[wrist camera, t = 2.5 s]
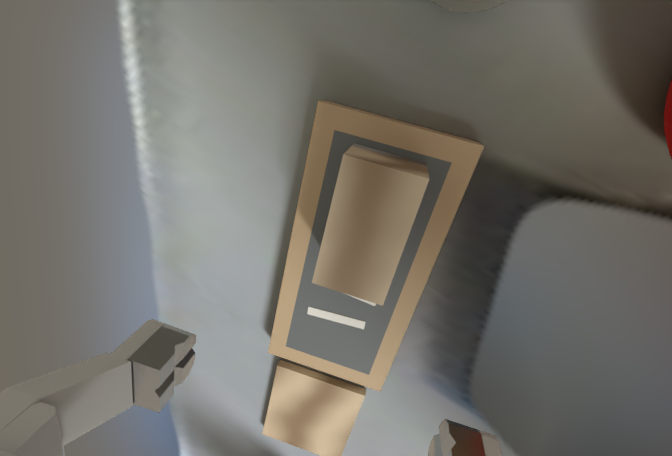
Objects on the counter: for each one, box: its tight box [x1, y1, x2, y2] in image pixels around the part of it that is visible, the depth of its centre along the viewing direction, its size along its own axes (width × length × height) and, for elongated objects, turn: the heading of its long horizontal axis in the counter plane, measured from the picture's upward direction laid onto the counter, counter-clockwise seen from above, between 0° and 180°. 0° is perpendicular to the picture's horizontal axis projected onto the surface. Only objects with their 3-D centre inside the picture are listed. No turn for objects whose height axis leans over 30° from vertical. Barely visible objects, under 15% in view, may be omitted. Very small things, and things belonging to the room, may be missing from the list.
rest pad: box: [262, 360, 366, 456], centre depth 36 cm, size 9×11×1 cm
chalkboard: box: [268, 100, 484, 391], centre depth 27 cm, size 11×23×2 cm, turn 167°
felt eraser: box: [312, 143, 429, 306], centre depth 23 cm, size 5×9×4 cm, turn 167°
